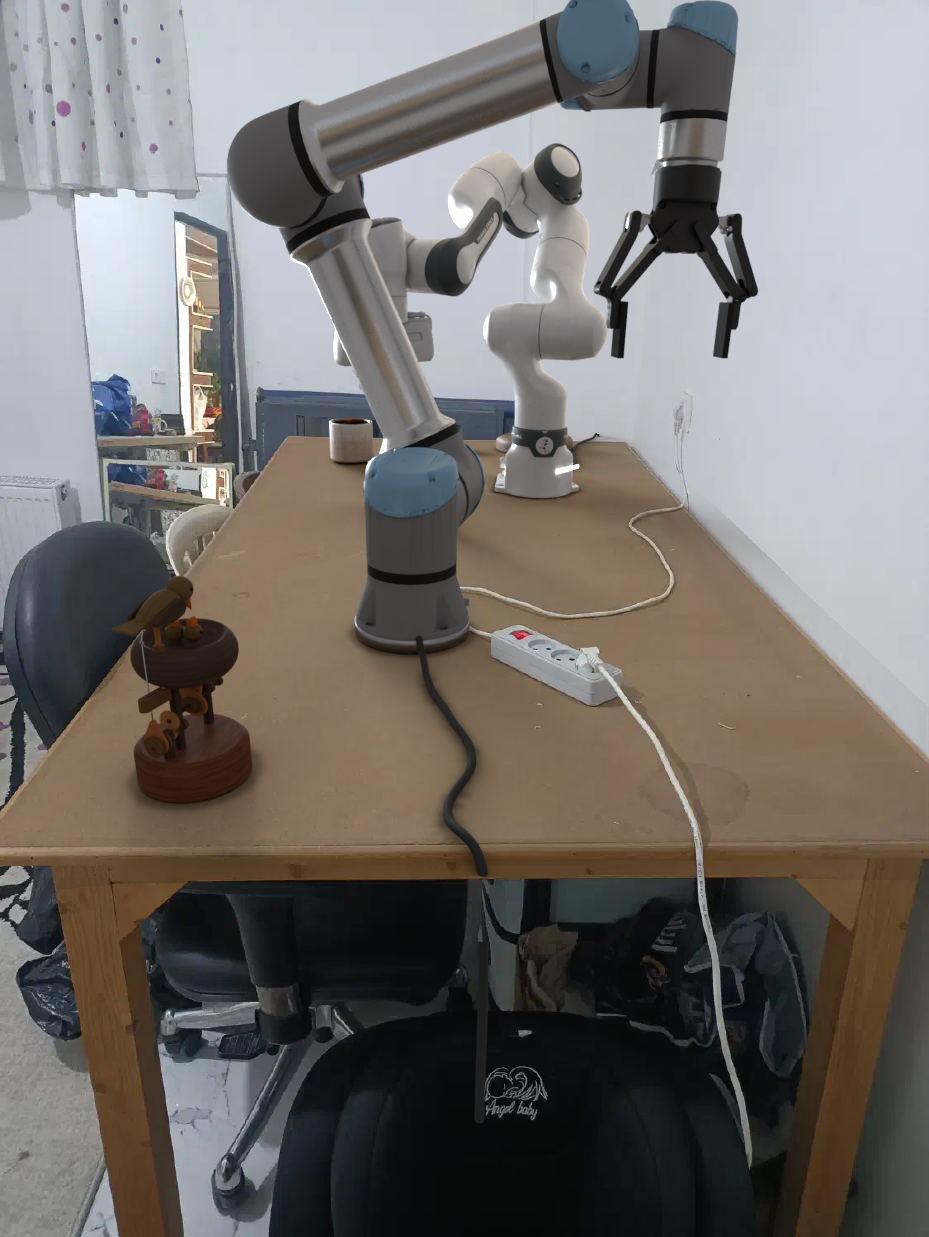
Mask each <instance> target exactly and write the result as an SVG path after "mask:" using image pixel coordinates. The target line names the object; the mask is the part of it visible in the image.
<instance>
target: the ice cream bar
mask: <svg viewBox="0 0 929 1237" xmlns="http://www.w3.org/2000/svg"><path fill="white" fill-rule="evenodd" d="M511 433H512V431H510V432H506V433H502V434H500V435H498V437H496V440H495V449H497V450H498V451H501V452H503V453H508V450H509V449H510V447H511V445H512V441H511V438H512V435H511ZM566 447H567V449H568V450H569V451H570V452H571V453H572V449H573V447H574V440H573V438H572V437H571V436H570V435H568V437H567V444H566Z"/></svg>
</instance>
